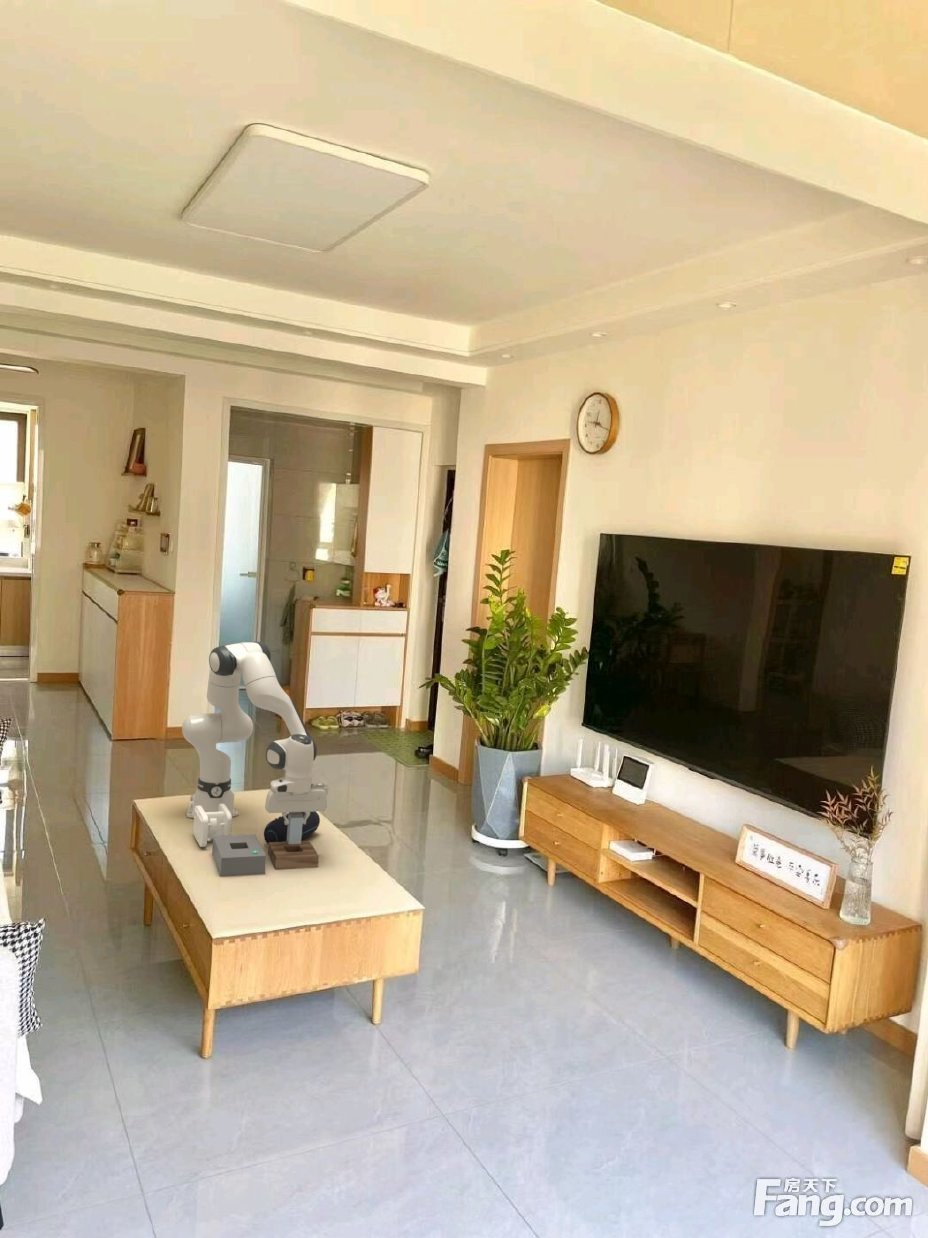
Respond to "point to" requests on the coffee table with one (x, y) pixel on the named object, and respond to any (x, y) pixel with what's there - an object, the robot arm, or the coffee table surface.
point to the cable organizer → (211, 824)
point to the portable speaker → (278, 829)
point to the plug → (295, 828)
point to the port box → (238, 855)
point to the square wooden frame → (292, 855)
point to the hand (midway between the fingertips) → (295, 824)
